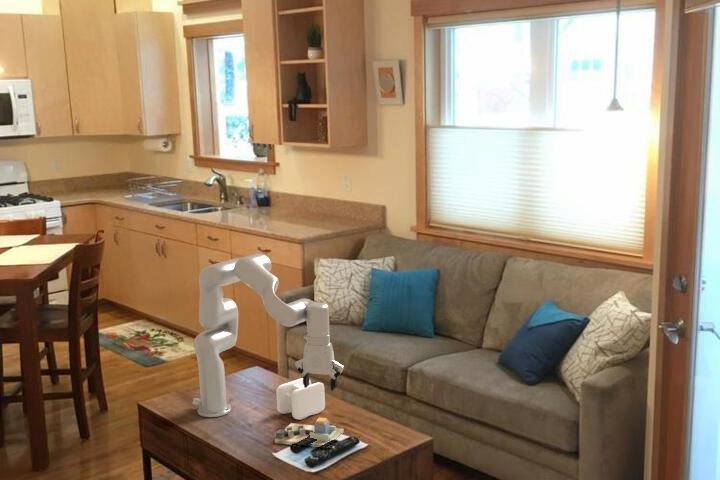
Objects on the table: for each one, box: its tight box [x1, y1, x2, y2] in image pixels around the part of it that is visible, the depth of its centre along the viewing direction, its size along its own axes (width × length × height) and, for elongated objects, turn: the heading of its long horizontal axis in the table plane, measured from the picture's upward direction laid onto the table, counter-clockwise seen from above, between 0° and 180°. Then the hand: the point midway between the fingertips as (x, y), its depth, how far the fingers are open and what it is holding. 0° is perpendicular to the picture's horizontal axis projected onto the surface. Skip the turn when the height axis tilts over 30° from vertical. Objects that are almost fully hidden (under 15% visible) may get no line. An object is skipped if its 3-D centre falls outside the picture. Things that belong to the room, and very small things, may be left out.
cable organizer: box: [275, 377, 326, 421], centre depth 292 cm, size 15×11×12 cm
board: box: [274, 422, 344, 446], centre depth 271 cm, size 20×14×4 cm
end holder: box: [310, 424, 337, 441], centre depth 270 cm, size 7×8×2 cm
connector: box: [313, 417, 330, 435], centre depth 269 cm, size 4×4×6 cm
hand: (320, 387), depth 267 cm, fingers open, 9 cm apart
